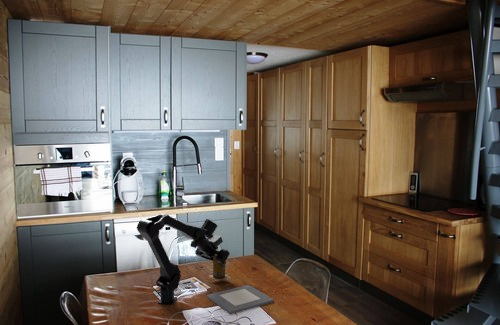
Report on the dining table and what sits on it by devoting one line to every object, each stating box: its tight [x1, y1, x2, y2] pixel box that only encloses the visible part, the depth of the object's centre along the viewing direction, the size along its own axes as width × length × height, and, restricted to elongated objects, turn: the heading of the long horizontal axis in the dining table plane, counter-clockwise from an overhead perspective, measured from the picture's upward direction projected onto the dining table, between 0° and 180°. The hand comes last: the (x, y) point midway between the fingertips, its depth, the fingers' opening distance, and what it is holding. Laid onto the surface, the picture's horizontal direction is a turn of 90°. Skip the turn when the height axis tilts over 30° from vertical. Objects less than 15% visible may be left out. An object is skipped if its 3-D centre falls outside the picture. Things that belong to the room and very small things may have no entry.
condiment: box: [208, 255, 231, 281], centre depth 201 cm, size 7×8×12 cm
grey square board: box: [206, 284, 275, 315], centre depth 181 cm, size 22×20×1 cm
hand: (220, 262), depth 202 cm, fingers closed on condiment, 6 cm apart
